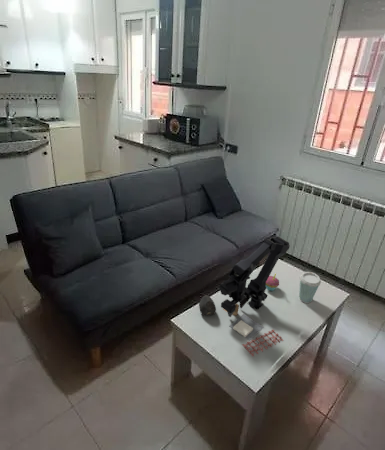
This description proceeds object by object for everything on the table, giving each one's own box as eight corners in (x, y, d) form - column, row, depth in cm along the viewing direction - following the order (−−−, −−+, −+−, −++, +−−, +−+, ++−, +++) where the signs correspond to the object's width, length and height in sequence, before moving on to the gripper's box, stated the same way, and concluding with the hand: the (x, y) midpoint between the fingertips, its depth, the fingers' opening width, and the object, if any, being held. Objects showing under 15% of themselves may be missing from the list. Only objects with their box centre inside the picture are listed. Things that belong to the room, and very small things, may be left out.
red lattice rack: (240, 347, 137) (241, 343, 136) (271, 331, 146) (272, 328, 146) (251, 358, 132) (251, 355, 131) (282, 342, 141) (283, 339, 140)
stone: (212, 315, 156) (213, 295, 158) (218, 317, 149) (219, 296, 151) (197, 315, 154) (198, 294, 155) (202, 316, 146) (203, 295, 148)
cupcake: (280, 291, 173) (285, 273, 167) (268, 294, 170) (271, 276, 164) (272, 282, 180) (275, 265, 174) (259, 284, 177) (263, 267, 171)
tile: (241, 320, 148) (233, 326, 144) (253, 328, 144) (245, 334, 140) (240, 322, 149) (233, 328, 145) (252, 330, 145) (245, 337, 141)
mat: (243, 314, 155) (243, 313, 154) (263, 328, 147) (263, 327, 147) (228, 327, 147) (228, 326, 146) (249, 341, 139) (249, 340, 139)
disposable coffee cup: (315, 308, 162) (322, 285, 155) (294, 302, 165) (300, 280, 158) (314, 295, 171) (321, 273, 164) (294, 290, 174) (300, 269, 167)
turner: (227, 306, 159) (228, 297, 157) (239, 314, 155) (240, 304, 152) (222, 310, 157) (223, 300, 154) (234, 318, 152) (236, 308, 150)
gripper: (237, 271, 157) (233, 295, 165) (213, 287, 145) (210, 312, 152) (255, 282, 151) (251, 306, 158) (232, 299, 138) (228, 325, 146)
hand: (235, 312), depth 154 cm, fingers open, 9 cm apart
